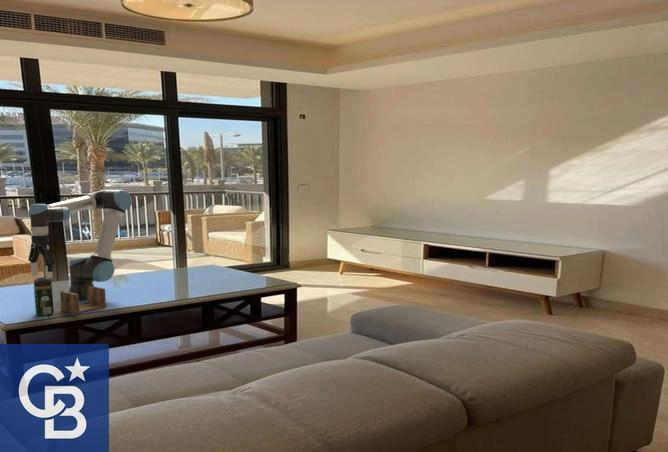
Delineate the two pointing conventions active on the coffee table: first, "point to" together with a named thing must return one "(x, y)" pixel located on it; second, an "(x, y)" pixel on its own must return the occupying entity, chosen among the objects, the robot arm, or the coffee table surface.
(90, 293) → the holder
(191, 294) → the coffee table surface
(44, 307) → the coffee jar
